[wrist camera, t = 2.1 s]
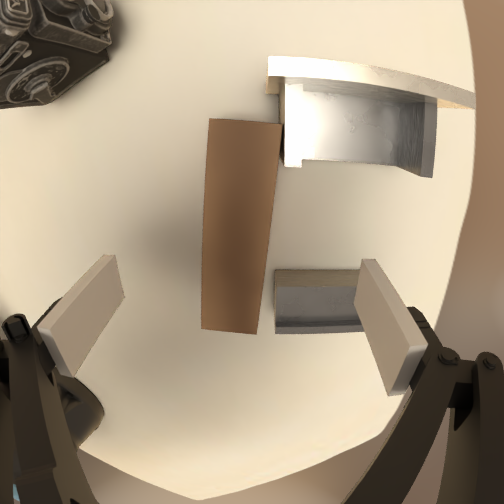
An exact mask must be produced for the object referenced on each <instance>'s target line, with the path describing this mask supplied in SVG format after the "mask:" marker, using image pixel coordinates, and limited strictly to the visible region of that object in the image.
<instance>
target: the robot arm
mask: <svg viewBox="0 0 504 504" xmlns="http://www.w3.org/2000/svg"><path fill="white" fill-rule="evenodd" d="M124 298H125V297H124V292H123V288H122V284H121V280H120V276H119V271H118V267H117V262H116V257H115V255H103V256H102V257H101V258H100V259H99V260H98V261H97V262H96V263H95V264H94V265H93V266H92V267H91V268H90V269H89V270H88V271H87V272H86V273H85V274H84V275H83V276H82V277H81V278H80V279H79V280H78V282H77V283H76V284H75V285H74V286H73V287H72V288H71V289H70V290H69V291H68V292H67V293H66V294H65V295H64V297H61V298H60V299H58V300H57V301H55V302H54V303H53V304H52V305H51V306H50V307H49V308H48V310H47V311H46V312H45V313H44V315H42V316H41V317H40V318H39V320H38V321H37V322H36V323H35V324H34V325H33V327H32V328H30V326H29V323H28V321H27V319H26V317H25V315H23V314H14V315H12V316H10V317H8V318H7V319H6V320H5V321H4V322H3V324H2V328H3V330H4V332H5V334H6V336H7V338H8V340H1V338H0V504H14V499H16V500H18V501H20V504H99V503H98V502H97V500H96V499H95V497H94V495H93V493H92V491H91V489H90V486H89V484H88V482H87V479H86V477H85V474H84V472H83V469H82V467H81V464H80V461H79V459H78V456H77V450H78V448H79V446H80V445H81V444H82V443H83V442H84V441H85V440H86V439H87V438H88V437H89V436H90V435H91V434H92V433H93V431H94V430H96V429H97V428H98V427H99V425H100V423H101V421H102V418H103V416H104V412H103V408H102V406H101V404H100V403H99V401H98V400H97V398H96V397H95V396H94V395H93V394H92V393H91V392H90V391H89V390H88V389H87V388H86V387H85V386H84V385H82V384H81V383H80V382H79V381H77V380H76V379H75V378H74V376H75V374H76V373H77V371H78V369H79V368H80V366H81V364H82V363H83V361H84V359H85V358H86V356H87V354H88V353H89V351H90V350H91V348H92V346H93V345H94V343H95V342H96V340H97V339H98V337H99V335H100V334H101V332H102V331H103V329H104V328H105V326H106V325H107V323H108V322H109V320H110V319H111V317H112V315H113V314H114V312H115V311H116V309H117V308H118V307H119V305H120V304H121V302H122V301H123V299H124ZM354 306H355V308H356V311H357V313H358V316H359V318H360V321H361V323H362V326H363V328H364V331H365V334H366V336H367V339H368V342H369V344H370V347H371V350H372V352H373V355H374V358H375V361H376V363H377V366H378V369H379V372H380V375H381V378H382V380H383V383H384V386H385V389H386V392H387V395H388V396H394V395H401V394H405V392H406V390H407V388H408V386H409V384H410V387H411V389H412V394H411V396H410V397H409V399H408V401H407V403H406V405H405V406H404V409H403V411H402V412H401V414H400V416H399V418H398V420H397V422H396V424H395V425H394V427H393V428H392V430H391V432H390V434H389V435H388V437H387V438H386V440H385V442H384V443H383V445H382V447H381V448H380V450H379V451H378V453H377V455H376V456H375V457H374V459H373V461H372V462H371V463H370V465H369V466H368V468H367V469H366V471H365V472H364V473H363V475H362V476H361V478H360V479H359V480H358V482H357V483H356V485H355V486H354V487H353V489H352V490H351V491H350V492H349V494H348V495H347V496H346V498H345V499H344V500H343V501H342V503H341V504H401V503H402V502H403V500H404V499H405V497H406V495H407V493H408V492H409V490H410V488H411V486H412V485H413V483H414V481H415V479H416V477H417V475H418V473H419V471H420V469H421V467H422V465H423V463H424V461H425V459H426V457H427V455H428V453H429V451H430V448H431V446H432V444H433V442H434V440H435V437H436V435H437V432H438V430H439V428H440V425H441V422H442V420H443V417H444V415H445V412H446V409H447V408H450V422H449V433H448V442H447V449H446V457H445V463H444V470H443V475H442V480H441V485H440V490H439V495H438V499H437V503H436V504H504V370H503V365H502V363H501V360H500V359H499V358H498V357H497V356H496V355H494V354H492V353H489V352H482V353H480V354H479V355H478V356H477V358H476V360H475V361H469V360H461V359H460V357H459V355H458V354H457V353H456V352H455V351H454V350H452V349H450V348H446V347H443V346H442V344H441V342H440V341H439V339H438V337H437V336H436V334H435V333H434V331H433V329H432V328H431V326H430V325H429V323H428V322H427V320H426V318H425V317H424V315H423V314H422V313H421V312H420V311H419V310H418V309H416V308H415V307H406V306H405V304H404V303H403V301H402V299H401V298H400V296H399V295H398V293H397V291H396V290H395V288H394V287H393V285H392V284H391V282H390V280H389V279H388V277H387V276H386V274H385V273H384V271H383V270H382V268H381V267H380V265H379V264H378V262H377V261H376V259H362V262H361V267H360V273H359V279H358V284H357V289H356V295H355V300H354ZM55 365H56V367H57V368H55Z"/></svg>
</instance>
